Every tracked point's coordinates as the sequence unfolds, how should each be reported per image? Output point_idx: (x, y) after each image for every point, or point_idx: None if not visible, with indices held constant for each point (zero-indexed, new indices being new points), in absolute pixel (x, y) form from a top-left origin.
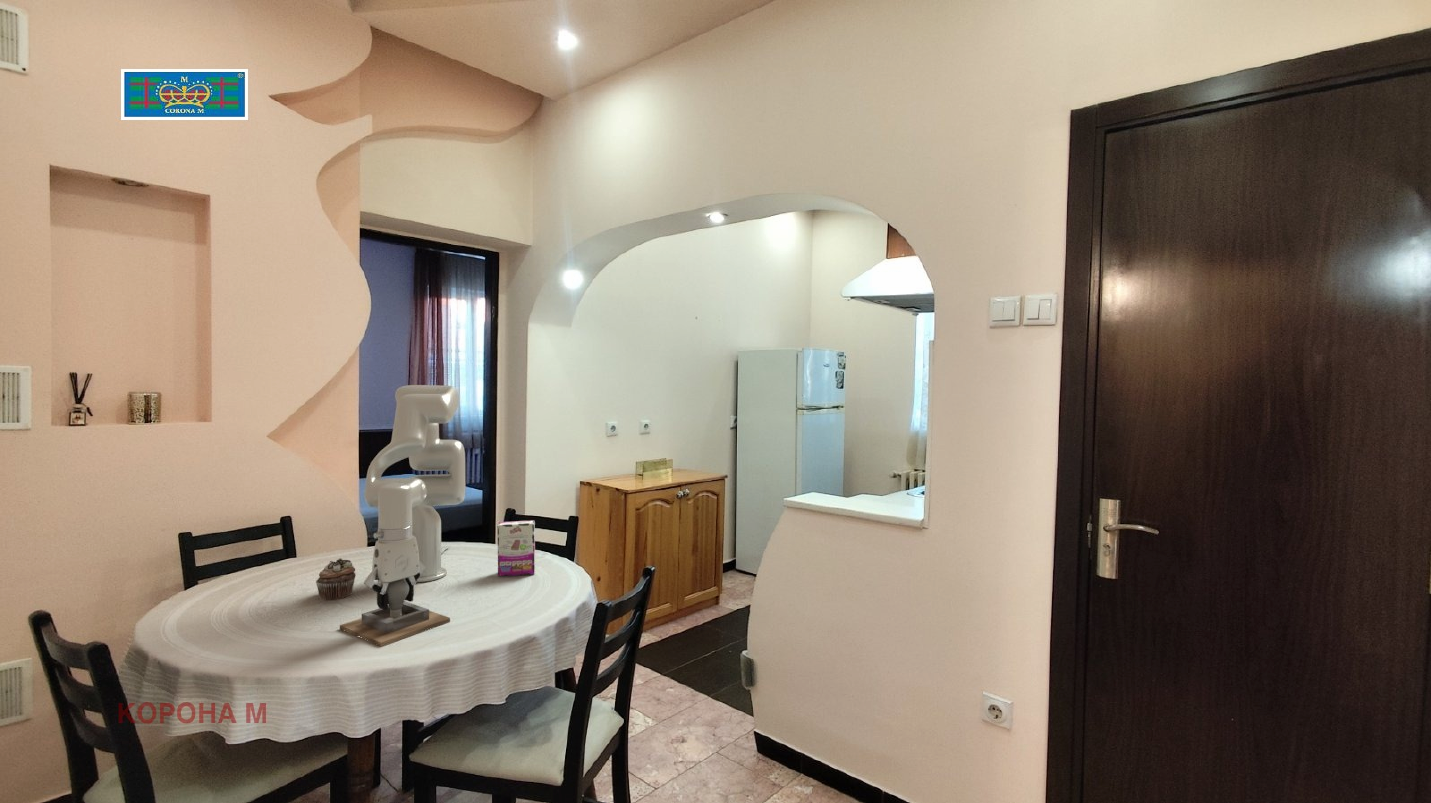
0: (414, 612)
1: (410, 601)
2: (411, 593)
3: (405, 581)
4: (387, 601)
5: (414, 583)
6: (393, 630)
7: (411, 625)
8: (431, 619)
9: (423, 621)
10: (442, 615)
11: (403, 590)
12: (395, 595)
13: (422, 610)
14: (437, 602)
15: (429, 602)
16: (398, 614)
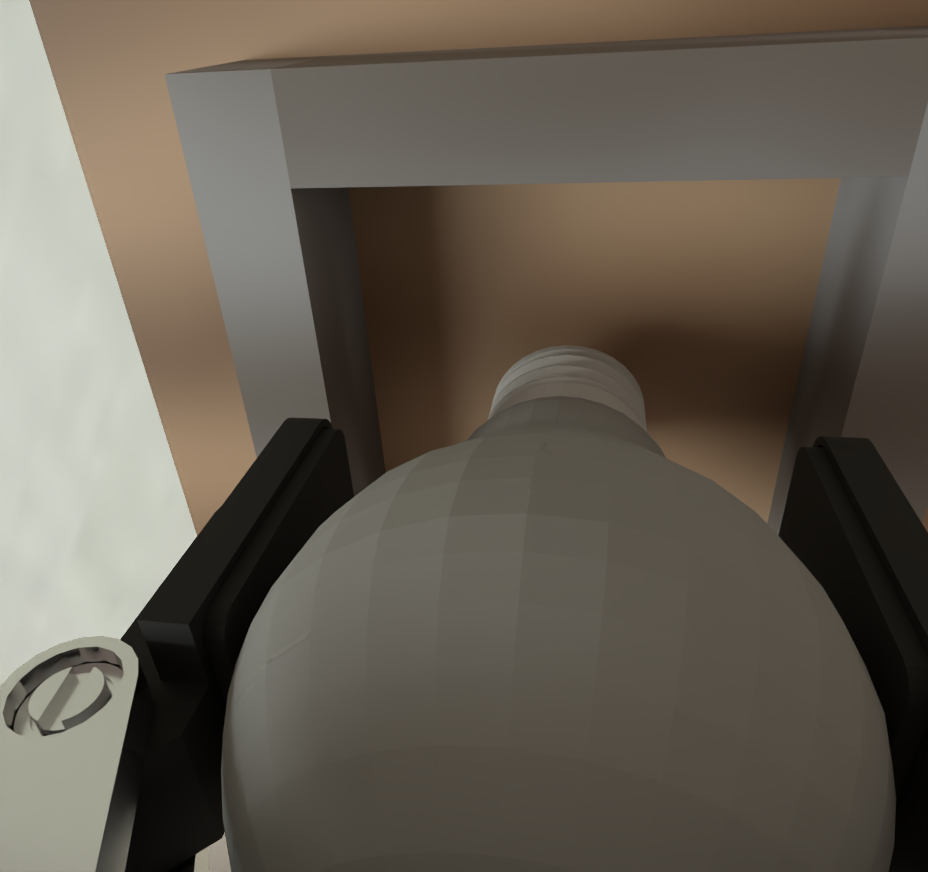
0: (409, 159)
1: (332, 430)
2: (262, 501)
3: (263, 841)
4: (858, 531)
5: (61, 671)
6: (876, 26)
7: (541, 39)
8: (222, 16)
9: (341, 41)
10: (45, 30)
11: (509, 529)
12: (747, 520)
13: (269, 131)
14: (8, 527)
15: (69, 578)
16: (565, 371)
